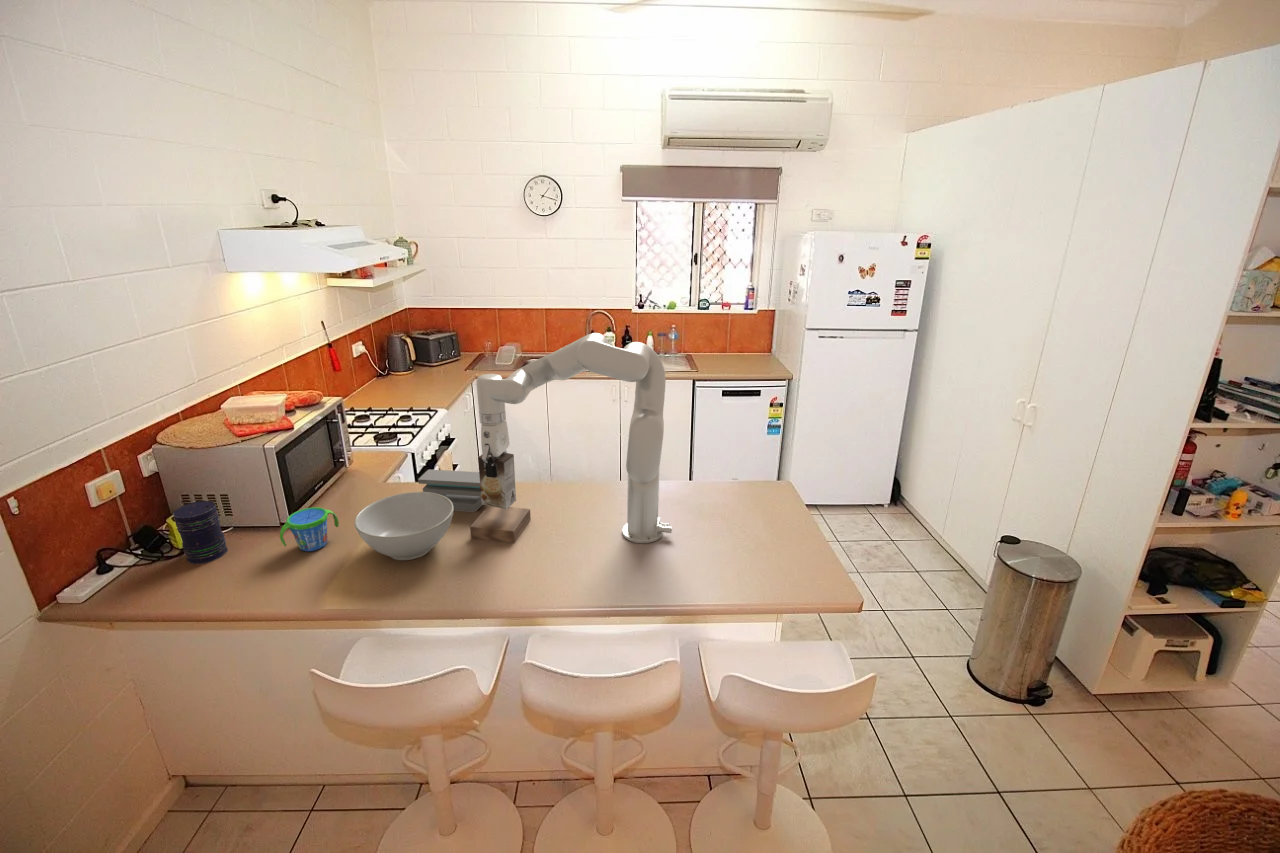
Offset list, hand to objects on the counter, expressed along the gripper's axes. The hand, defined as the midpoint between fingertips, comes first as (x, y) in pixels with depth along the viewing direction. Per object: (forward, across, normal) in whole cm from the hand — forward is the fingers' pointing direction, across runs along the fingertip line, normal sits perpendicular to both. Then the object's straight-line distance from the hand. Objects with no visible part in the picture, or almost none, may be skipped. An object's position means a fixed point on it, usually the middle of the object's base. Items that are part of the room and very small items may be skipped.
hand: (496, 471), depth 179 cm
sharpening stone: (+20, +12, +19) cm, 30 cm away
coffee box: (+11, 0, 0) cm, 11 cm away
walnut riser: (+20, 0, 0) cm, 20 cm away
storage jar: (+20, -30, +77) cm, 85 cm away
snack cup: (+20, -20, +51) cm, 58 cm away
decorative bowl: (+20, -16, +22) cm, 34 cm away
